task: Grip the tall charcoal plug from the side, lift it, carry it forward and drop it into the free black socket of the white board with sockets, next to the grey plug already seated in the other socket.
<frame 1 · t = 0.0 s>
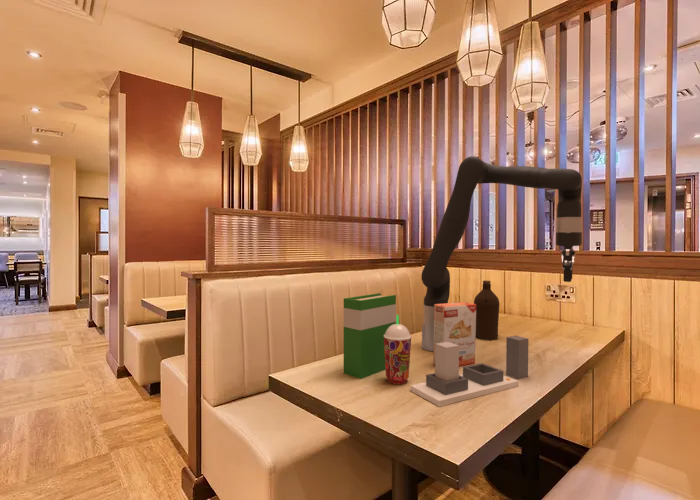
hand: (567, 280, 127), 29 cm above the table, tool pointing down, fingers open, 8 cm apart
olive oil: (486, 338, 169), on the table
hardback book: (370, 370, 126), on the table
cracker box: (454, 364, 132), on the table
charcoal plug: (517, 375, 120), on the table
smoothie: (397, 381, 116), on the table
white board with sockets: (465, 388, 110), on the table
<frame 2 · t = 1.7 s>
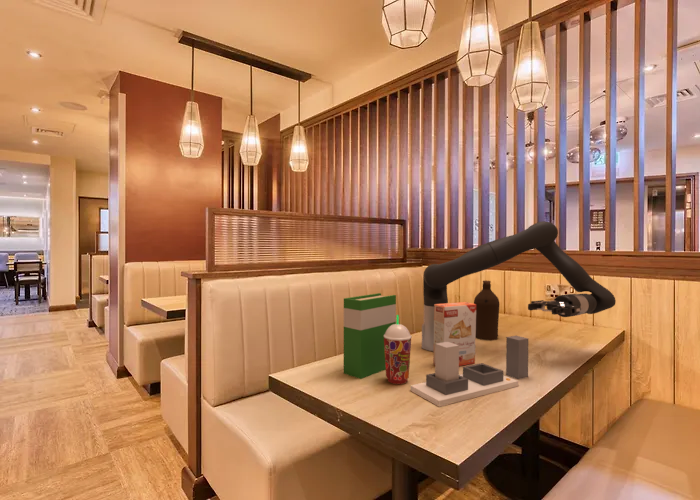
hand: (540, 309, 125), 20 cm above the table, tool horizontal, fingers open, 8 cm apart
nothing on the table moved.
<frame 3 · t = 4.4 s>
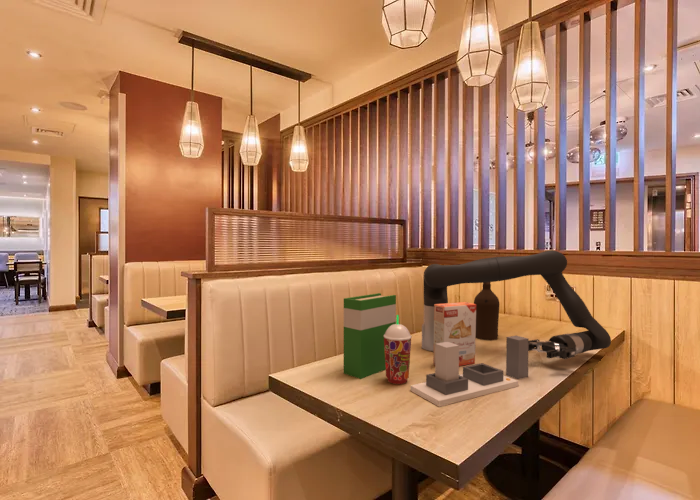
hand: (535, 351, 125), 6 cm above the table, tool horizontal, fingers open, 8 cm apart
nothing on the table moved.
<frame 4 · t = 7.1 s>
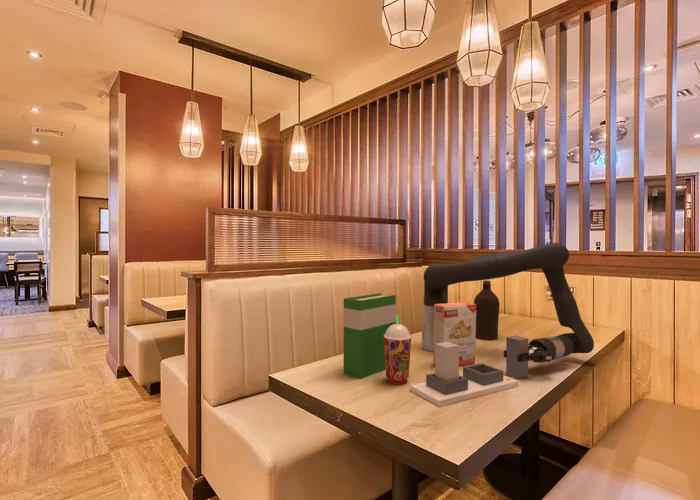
hand: (511, 356, 119), 7 cm above the table, tool horizontal, fingers closed on charcoal plug, 4 cm apart
charcoal plug: (517, 375, 120), on the table, touching gripper
everything else where it was.
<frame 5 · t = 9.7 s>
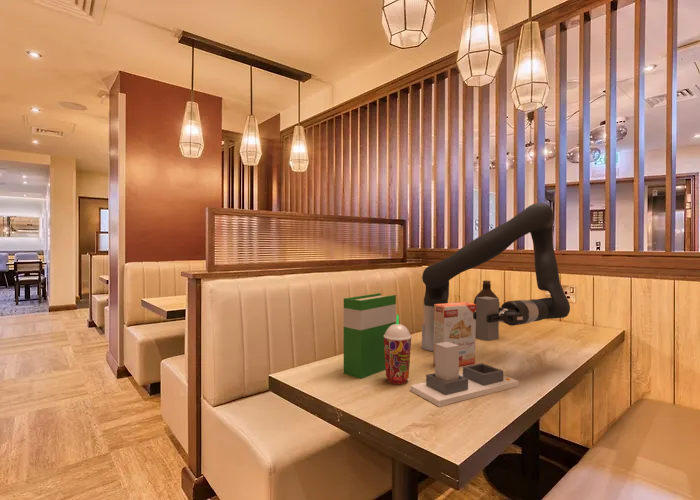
hand: (480, 317, 112), 20 cm above the table, tool horizontal, fingers closed on charcoal plug, 4 cm apart
charcoal plug: (487, 338, 114), point 13 cm above the table, touching gripper
everything else where it was.
when the fingers open (9 cm above the table, at t = 12.3 s): charcoal plug drops 1 cm, resting on white board with sockets.
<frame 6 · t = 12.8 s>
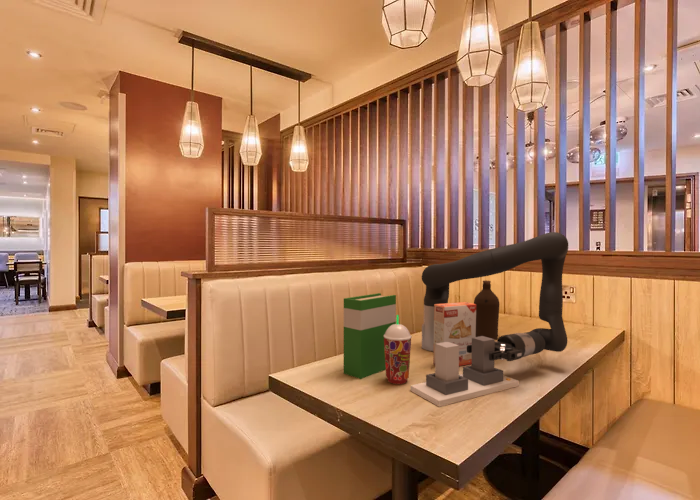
hand: (478, 352, 112), 10 cm above the table, tool horizontal, fingers open, 8 cm apart
charcoal plug: (482, 378, 113), point 1 cm above the table, touching white board with sockets
everything else where it was.
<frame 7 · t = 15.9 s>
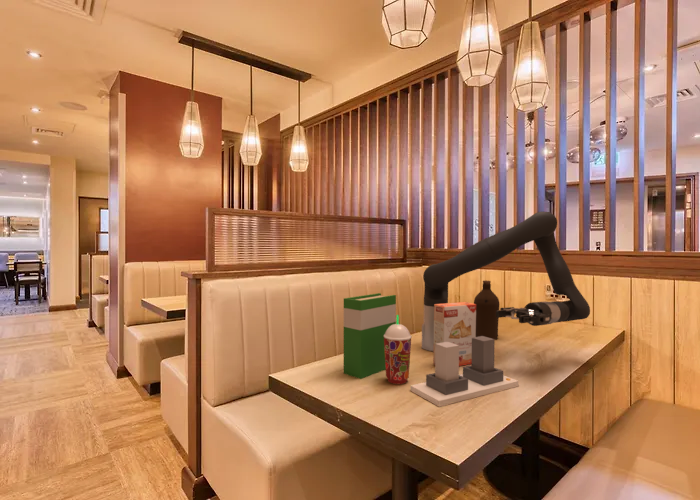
hand: (508, 316, 118), 19 cm above the table, tool horizontal, fingers open, 8 cm apart
nothing on the table moved.
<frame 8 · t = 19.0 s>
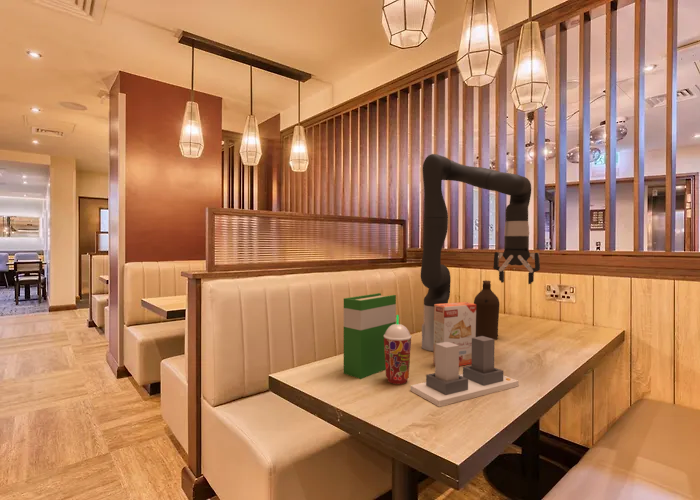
hand: (516, 283, 129), 28 cm above the table, tool pointing down, fingers open, 8 cm apart
nothing on the table moved.
at the end: charcoal plug 0.0 cm from the target spot on the white board with sockets, point 1.5 cm above the white board with sockets's base; charcoal plug tilted 0°; the gripper is holding nothing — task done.
